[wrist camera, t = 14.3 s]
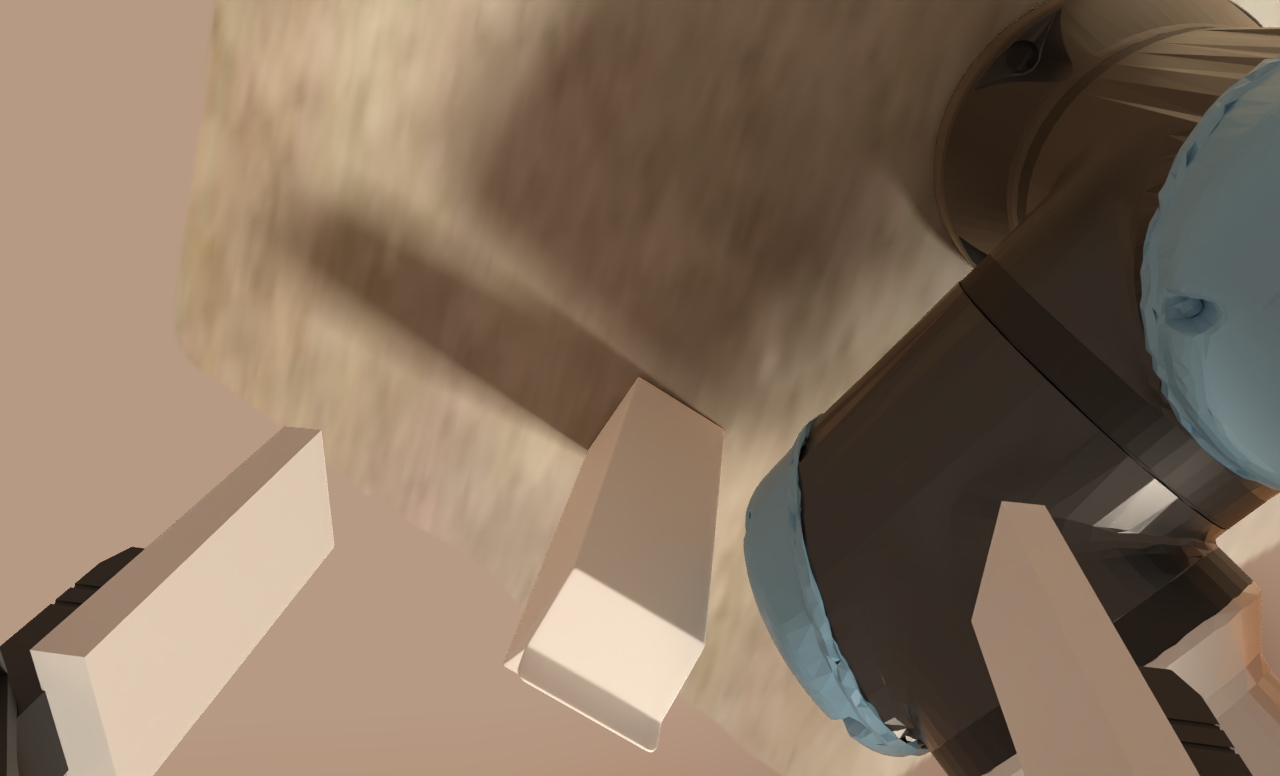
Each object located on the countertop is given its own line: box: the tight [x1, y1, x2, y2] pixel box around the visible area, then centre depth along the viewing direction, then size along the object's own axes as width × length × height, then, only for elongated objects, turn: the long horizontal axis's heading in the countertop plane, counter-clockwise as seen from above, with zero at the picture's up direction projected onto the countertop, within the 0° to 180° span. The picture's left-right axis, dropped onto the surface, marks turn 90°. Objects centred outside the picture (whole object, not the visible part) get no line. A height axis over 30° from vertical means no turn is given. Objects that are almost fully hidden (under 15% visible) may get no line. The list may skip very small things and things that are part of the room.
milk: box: [503, 377, 724, 752], centre depth 41 cm, size 6×6×22 cm
